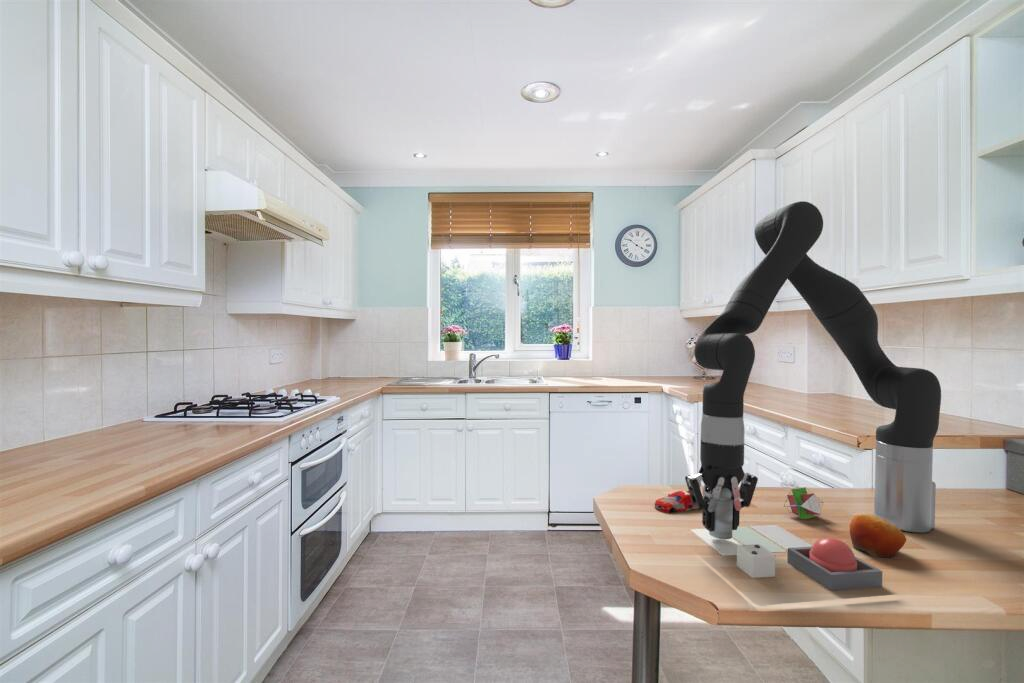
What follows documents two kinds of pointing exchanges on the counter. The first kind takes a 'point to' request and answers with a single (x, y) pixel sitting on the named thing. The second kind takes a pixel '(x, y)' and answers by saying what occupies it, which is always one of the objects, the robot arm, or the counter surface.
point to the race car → (676, 502)
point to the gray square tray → (835, 580)
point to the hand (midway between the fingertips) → (720, 528)
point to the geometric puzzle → (804, 503)
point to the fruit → (876, 536)
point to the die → (756, 560)
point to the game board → (753, 539)
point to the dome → (833, 555)
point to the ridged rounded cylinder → (723, 515)
